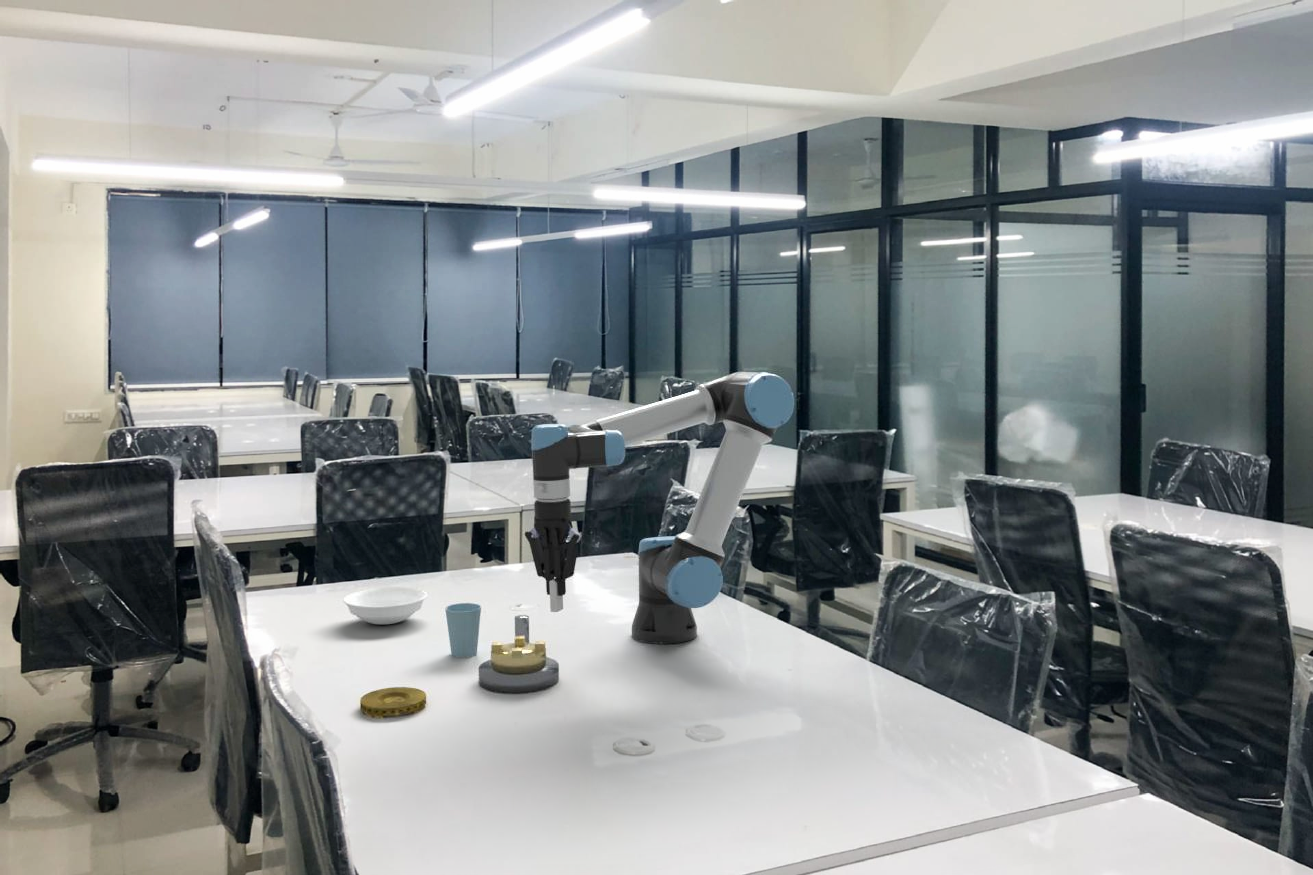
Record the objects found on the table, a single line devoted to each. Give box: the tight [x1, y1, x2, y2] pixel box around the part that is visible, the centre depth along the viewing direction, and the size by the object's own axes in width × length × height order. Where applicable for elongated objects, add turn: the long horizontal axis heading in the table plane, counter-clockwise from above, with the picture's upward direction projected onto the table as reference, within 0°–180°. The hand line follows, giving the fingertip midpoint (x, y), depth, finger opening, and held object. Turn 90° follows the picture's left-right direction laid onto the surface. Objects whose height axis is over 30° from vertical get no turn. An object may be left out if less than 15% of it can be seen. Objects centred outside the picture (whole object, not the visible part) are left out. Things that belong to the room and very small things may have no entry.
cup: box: [445, 602, 482, 658], centre depth 236 cm, size 8×8×10 cm
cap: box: [478, 656, 560, 695], centre depth 217 cm, size 16×16×3 cm
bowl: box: [342, 587, 428, 625], centre depth 262 cm, size 20×20×6 cm
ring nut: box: [490, 614, 547, 673], centre depth 221 cm, size 19×11×9 cm, turn 4°
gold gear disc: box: [359, 686, 427, 719], centre depth 202 cm, size 12×12×2 cm
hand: (556, 610), depth 226 cm, fingers closed
